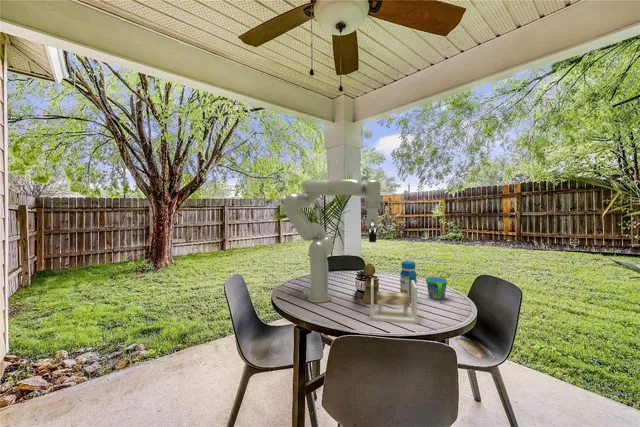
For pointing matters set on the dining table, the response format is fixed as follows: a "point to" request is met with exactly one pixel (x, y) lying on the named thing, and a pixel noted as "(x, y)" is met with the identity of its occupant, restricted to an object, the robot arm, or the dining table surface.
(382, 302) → the tan wooden block
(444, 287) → the snack cup
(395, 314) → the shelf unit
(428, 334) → the dining table surface
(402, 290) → the beverage bottle
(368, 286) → the wooden mug
